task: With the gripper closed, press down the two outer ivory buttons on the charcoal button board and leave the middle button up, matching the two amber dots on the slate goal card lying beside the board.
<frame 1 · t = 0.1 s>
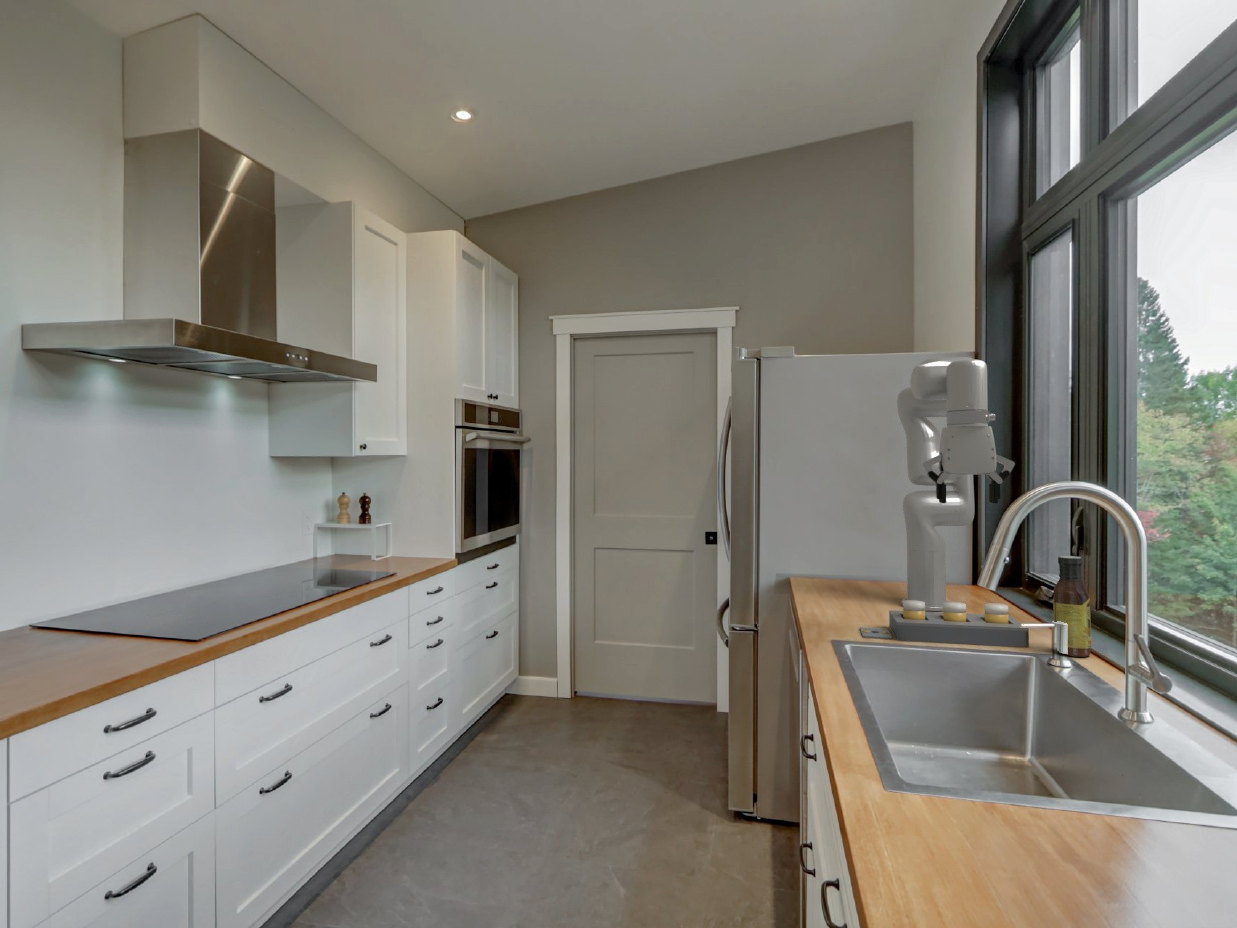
hand: (967, 502, 136), 31 cm above the worktop, tool pointing down, fingers open, 9 cm apart
goal card: (875, 633, 152), on the worktop
button 2: (996, 617, 147), point 5 cm above the worktop, slide at 0.0 cm
button 1: (914, 614, 151), point 5 cm above the worktop, slide at 0.0 cm
button middle: (954, 615, 149), point 5 cm above the worktop, slide at 0.0 cm
sauce bottle: (1072, 654, 135), on the worktop
button board: (954, 636, 149), on the worktop
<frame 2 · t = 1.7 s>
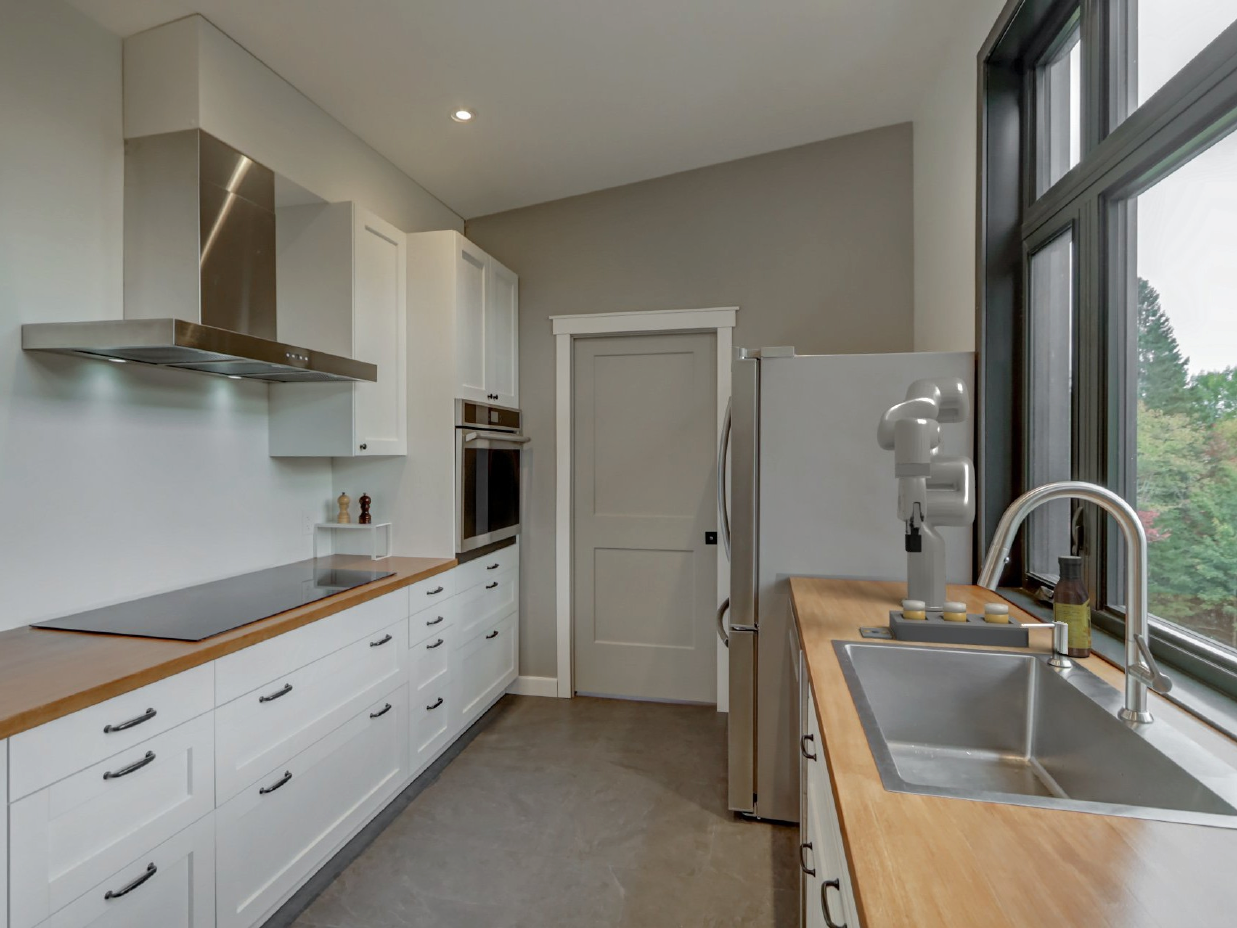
hand: (913, 551, 151), 19 cm above the worktop, tool pointing down, fingers closed
nothing on the worktop moved.
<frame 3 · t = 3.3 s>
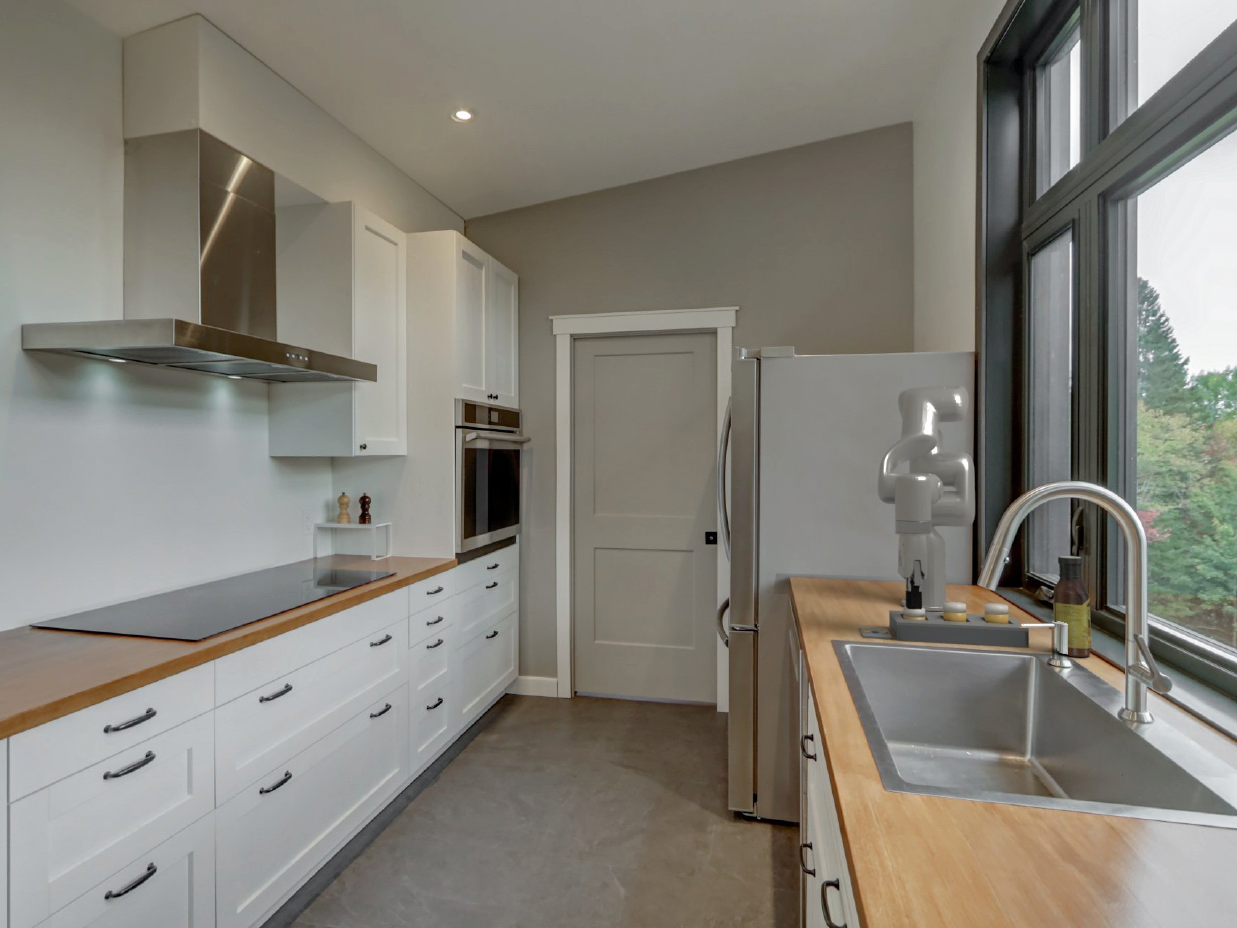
hand: (913, 608, 151), 6 cm above the worktop, tool pointing down, fingers closed
button 1: (914, 620, 151), point 3 cm above the worktop, slide at 1.4 cm, touching gripper
everything else where it was.
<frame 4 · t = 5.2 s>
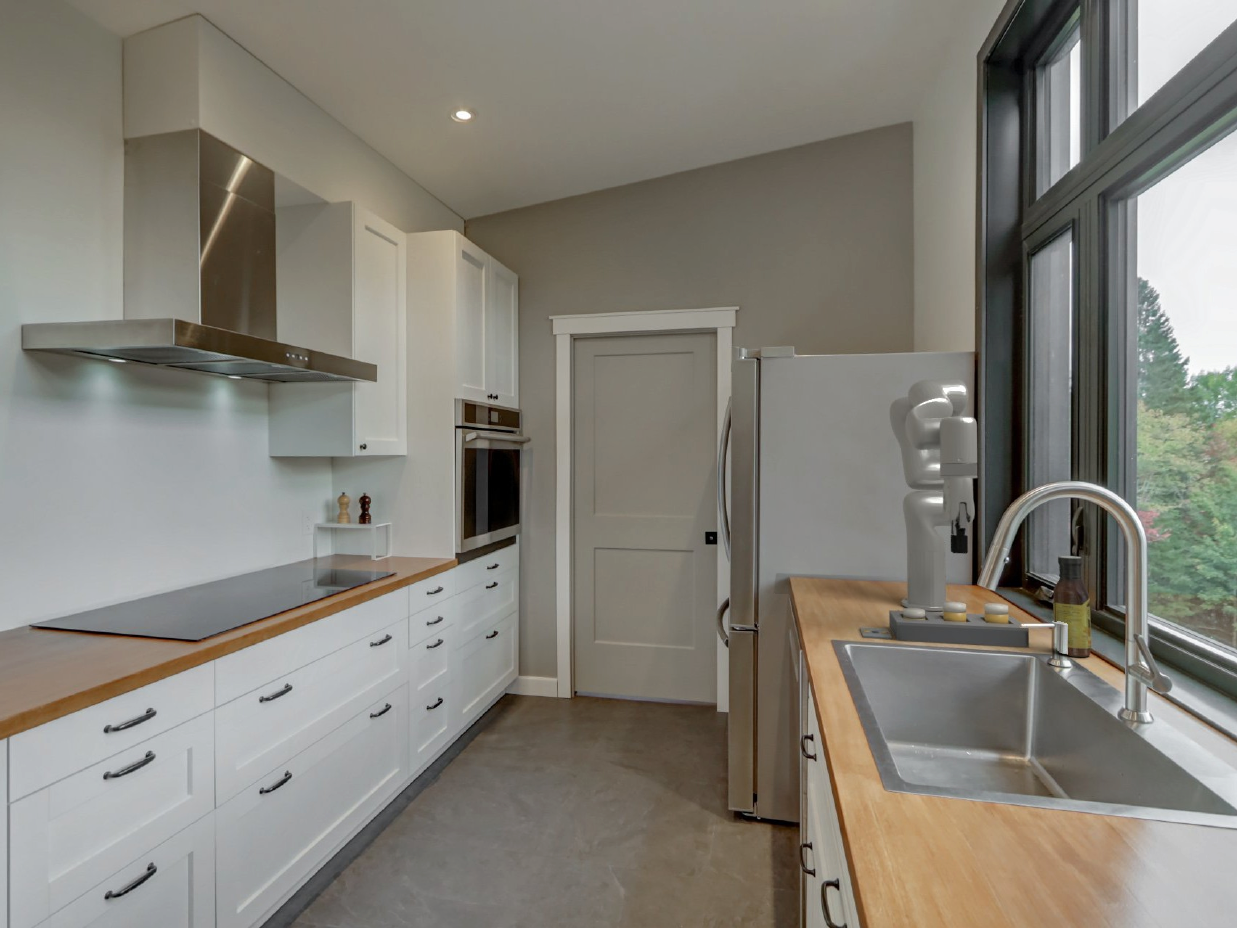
hand: (959, 552, 149), 19 cm above the worktop, tool pointing down, fingers closed
button 1: (914, 621, 151), point 3 cm above the worktop, slide at 1.8 cm
everything else where it was.
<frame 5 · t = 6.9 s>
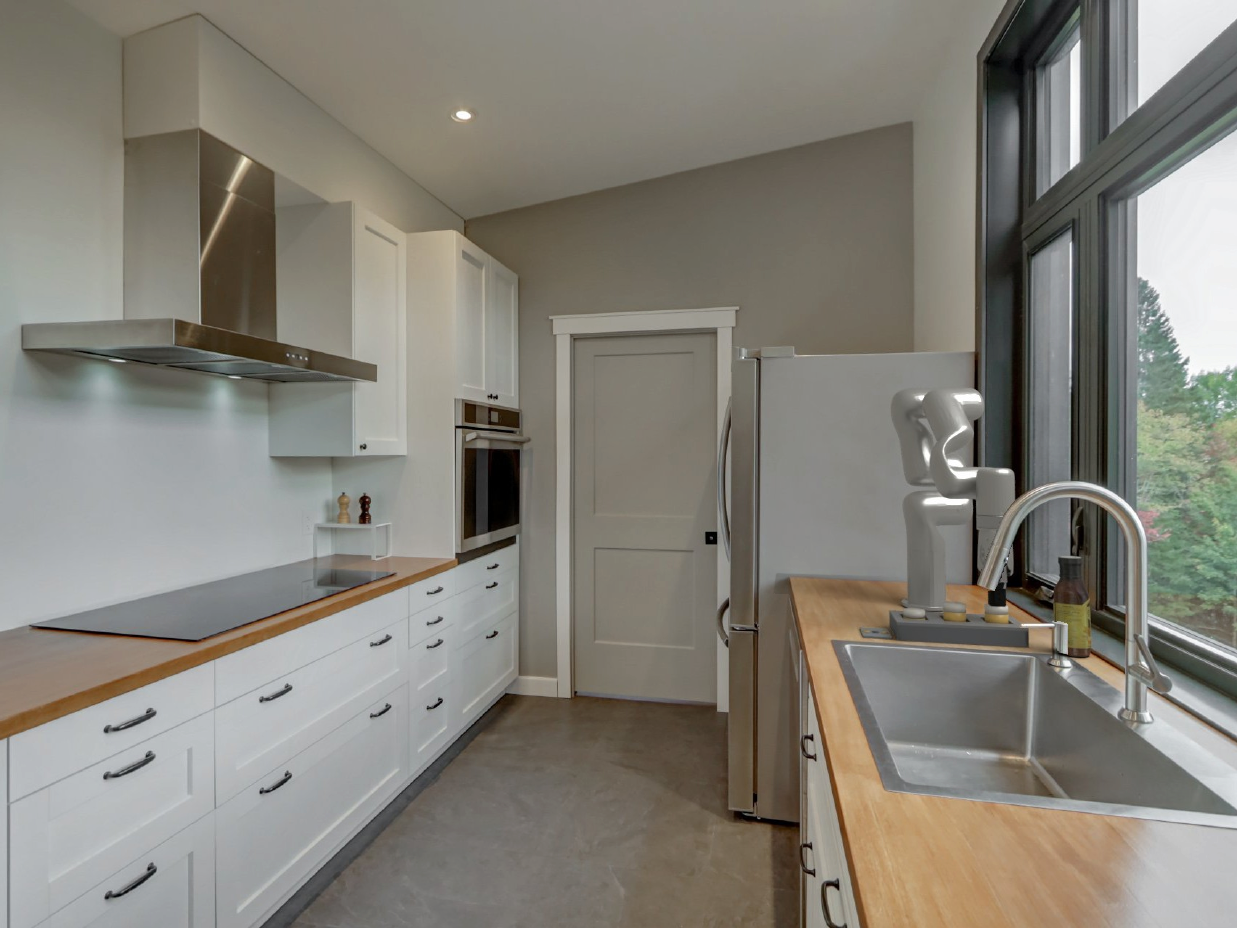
hand: (997, 605, 146), 7 cm above the worktop, tool pointing down, fingers closed
button 2: (996, 617, 147), point 5 cm above the worktop, slide at 0.1 cm, touching gripper
everything else where it was.
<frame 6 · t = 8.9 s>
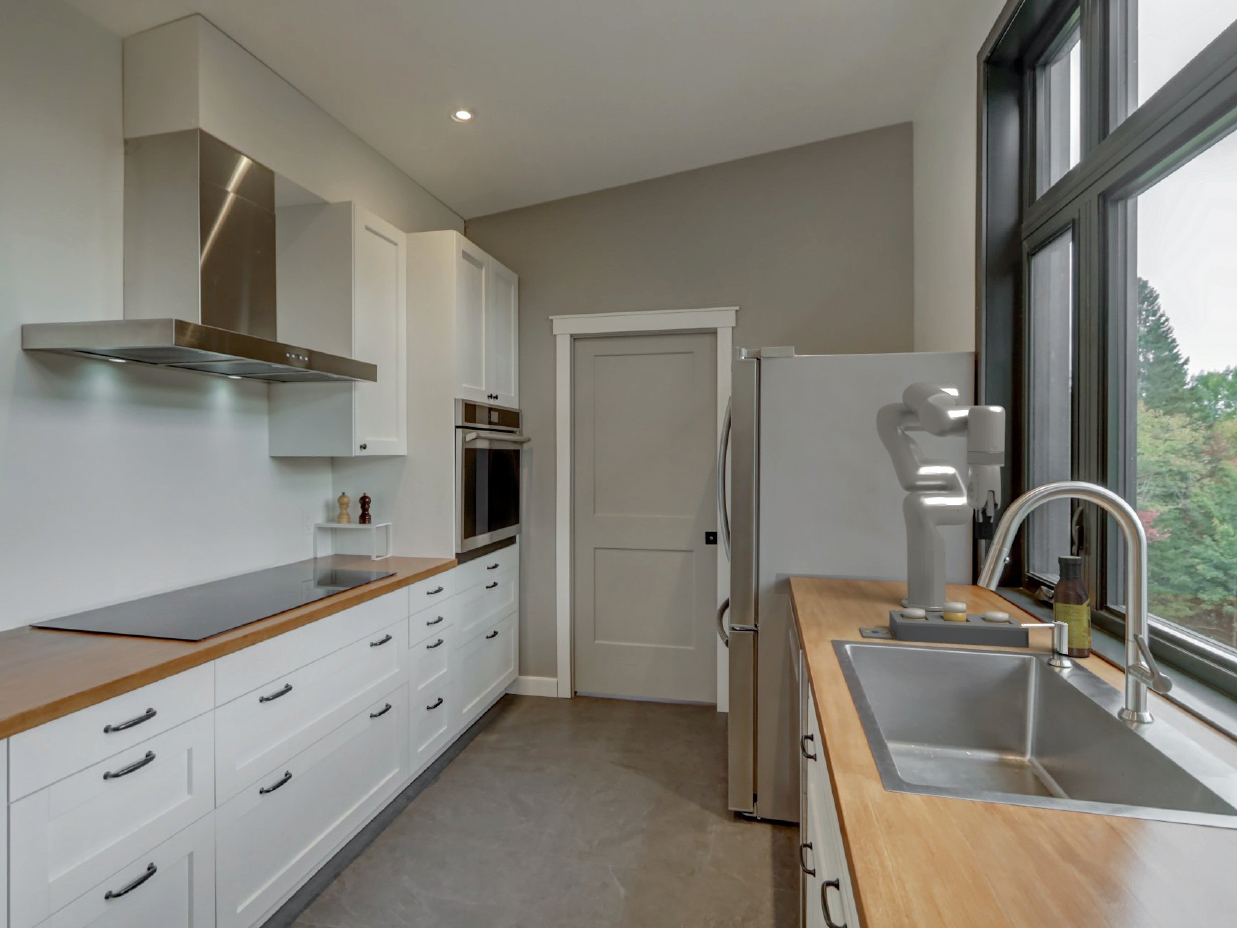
hand: (983, 538, 152), 22 cm above the worktop, tool pointing down, fingers closed
button 2: (996, 625, 147), point 3 cm above the worktop, slide at 1.8 cm
everything else where it was.
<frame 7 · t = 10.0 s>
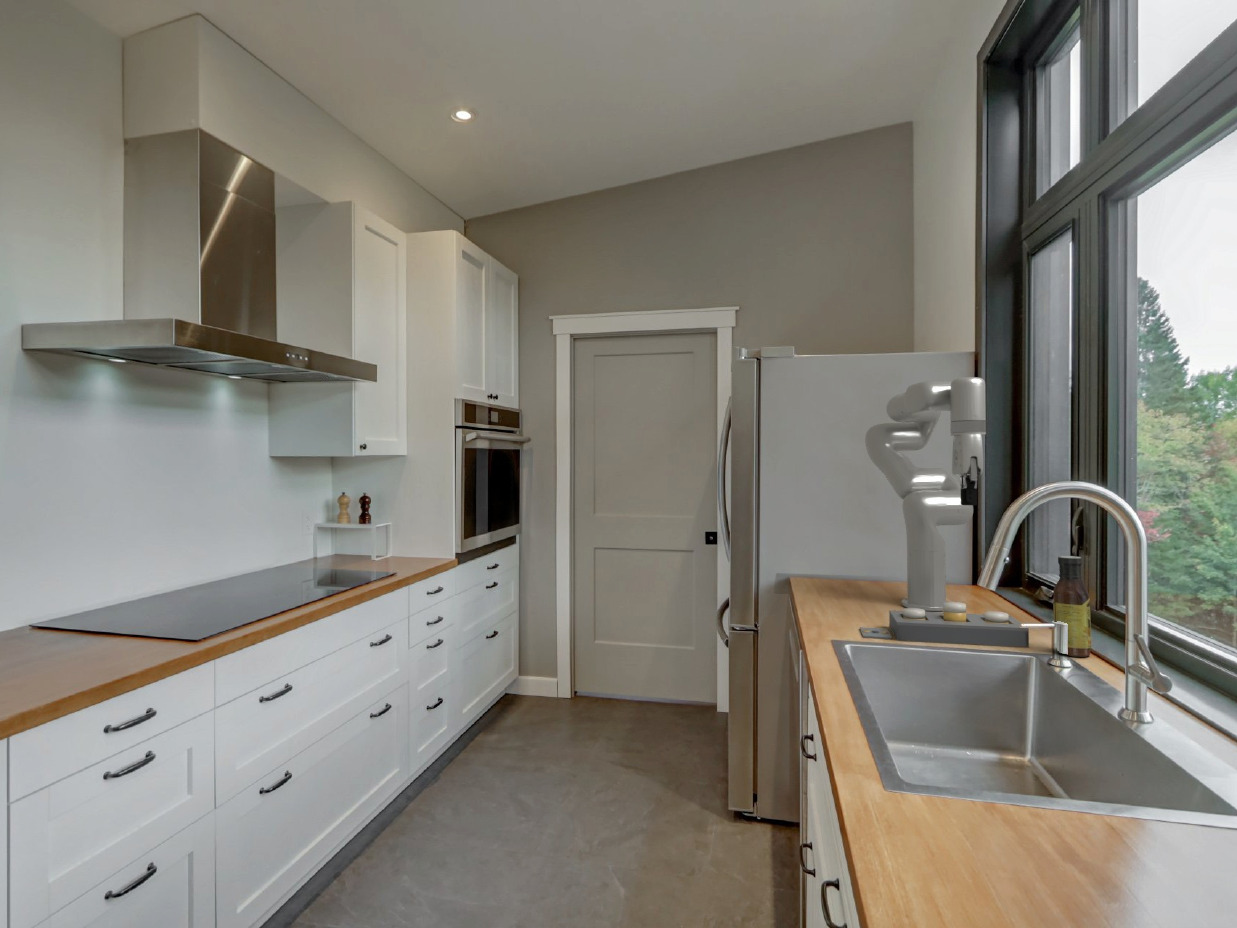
hand: (968, 504, 159), 29 cm above the worktop, tool pointing down, fingers closed
nothing on the worktop moved.
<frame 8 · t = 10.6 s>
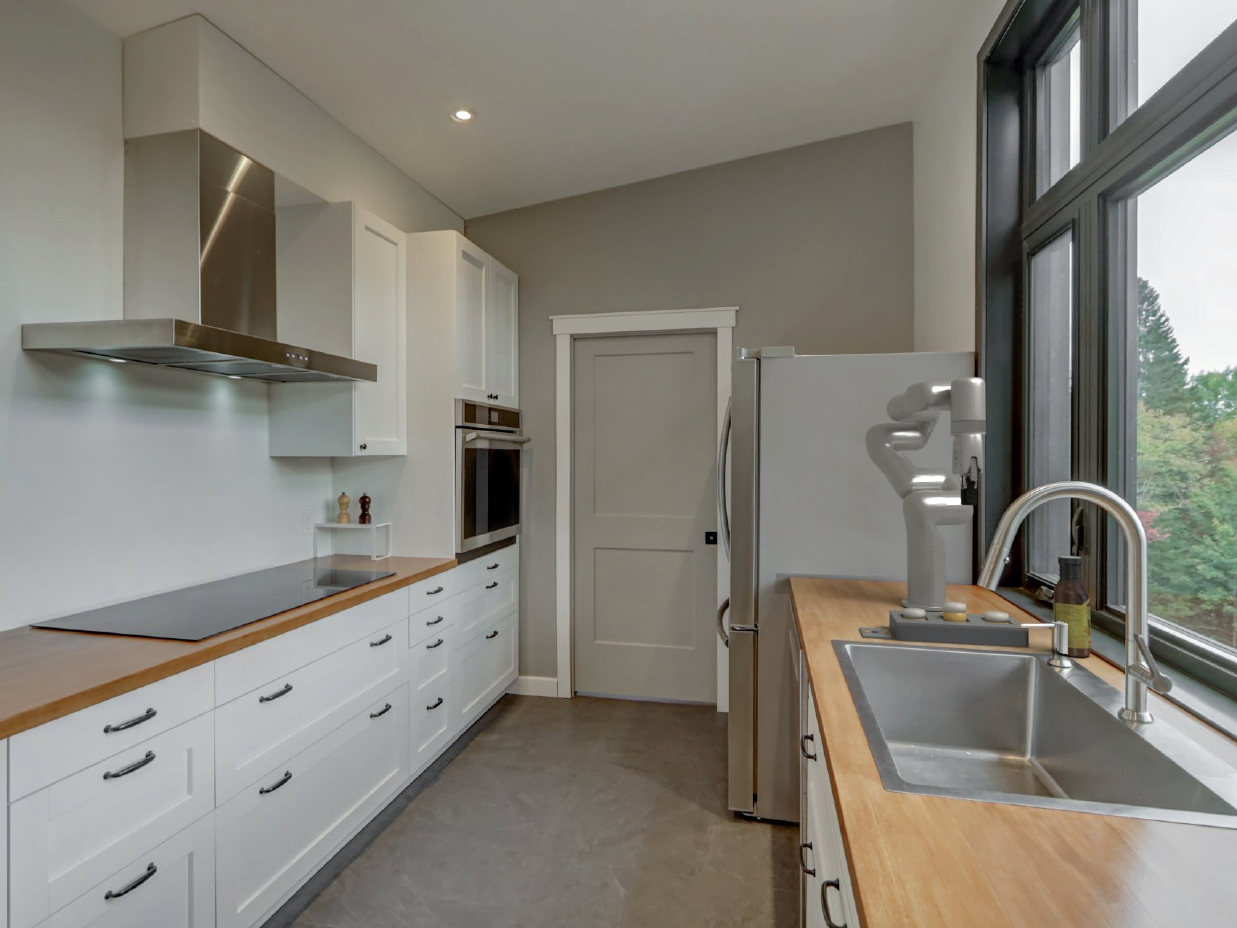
hand: (968, 504, 159), 29 cm above the worktop, tool pointing down, fingers closed
nothing on the worktop moved.
at the end: button 1 slide at 1.8 cm; button 2 slide at 1.8 cm; button middle slide at 0.0 cm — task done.
